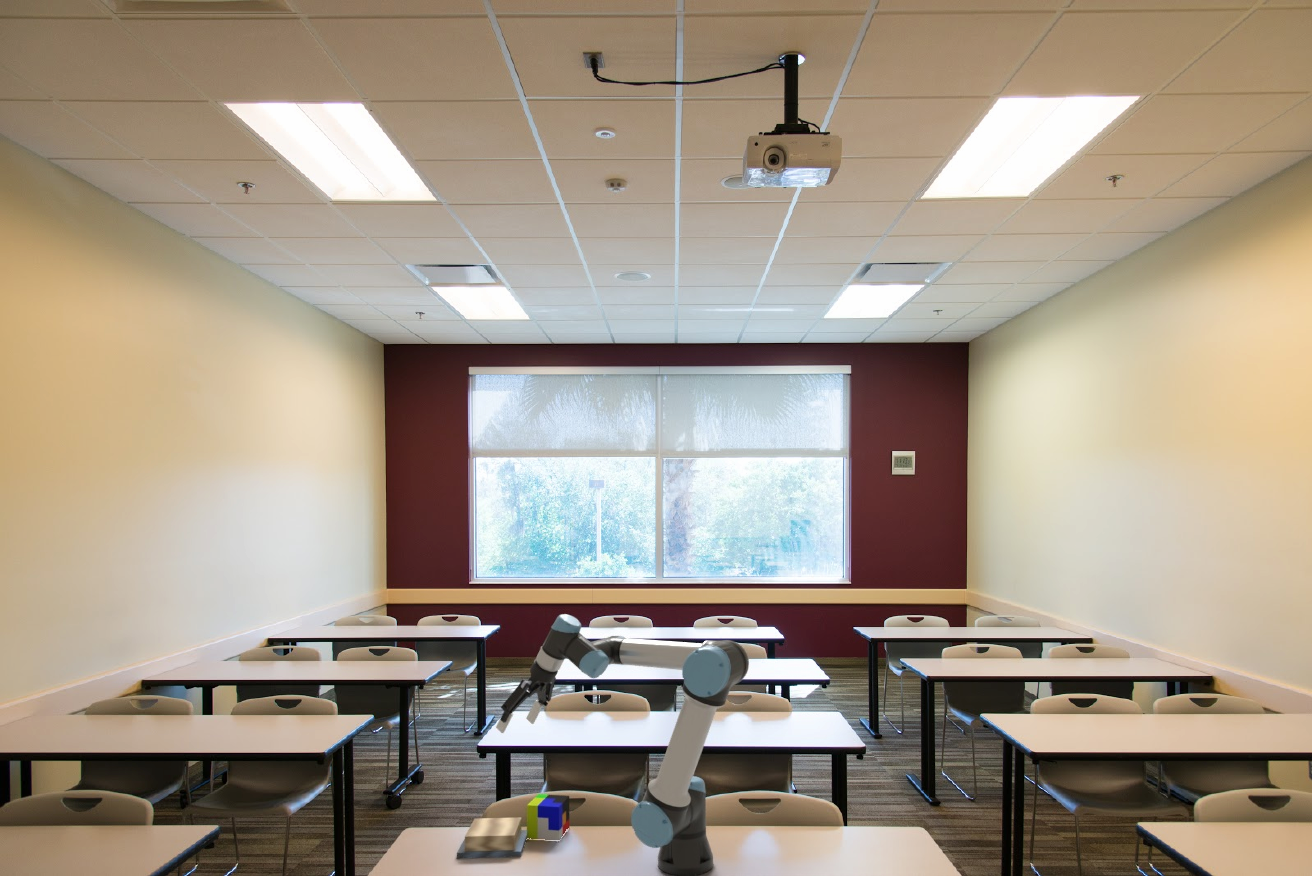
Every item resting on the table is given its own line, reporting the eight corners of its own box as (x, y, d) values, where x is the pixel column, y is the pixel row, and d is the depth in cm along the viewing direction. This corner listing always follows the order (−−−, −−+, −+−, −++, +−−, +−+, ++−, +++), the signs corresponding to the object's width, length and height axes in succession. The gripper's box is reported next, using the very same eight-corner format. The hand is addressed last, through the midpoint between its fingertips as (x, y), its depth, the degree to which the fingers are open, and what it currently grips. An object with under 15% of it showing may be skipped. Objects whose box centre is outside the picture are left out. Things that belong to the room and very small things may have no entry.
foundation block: (528, 835, 242) (528, 816, 242) (520, 857, 226) (520, 836, 226) (468, 836, 241) (468, 817, 242) (456, 858, 225) (456, 838, 226)
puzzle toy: (559, 842, 236) (559, 807, 237) (526, 840, 238) (526, 805, 239) (569, 829, 246) (569, 795, 247) (538, 827, 248) (538, 794, 249)
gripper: (563, 651, 243) (533, 709, 246) (510, 662, 221) (477, 725, 224) (580, 666, 239) (549, 725, 242) (528, 678, 218) (494, 743, 221)
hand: (515, 725), depth 233 cm, fingers open, 13 cm apart
